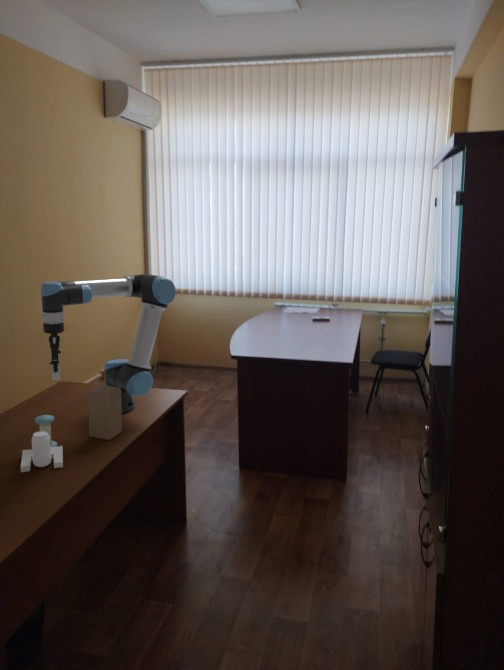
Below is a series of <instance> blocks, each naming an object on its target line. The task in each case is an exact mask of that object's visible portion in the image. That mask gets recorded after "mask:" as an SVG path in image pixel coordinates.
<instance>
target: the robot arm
mask: <svg viewBox="0 0 504 670" xmlns="http://www.w3.org/2000/svg"><path fill="white" fill-rule="evenodd" d="M40 286H41V287H40V296H41V308H42V313H41V314H40V317H42V322H43V323H42V327H43V332H44V334H50V335H49V336H48V342H49V349H50V351H51V361H50V362H49V365H51V377H52V381H60V380H61V374H60V373H61V363H60V354H61V353H62V352H61V350H60V342H61V339H60V338H61V337H60V335H59V334H62V333H64V332H65V323H64V321H65V320H64V319H65V317H64V306H65V307H66V306H74V305H75V306H76V305H84V304H88V303H90V302H91V301H92V299H93V298H106V297H118V296H119V297H120V296H123V297H125V298H138V299H141V302H140V303H141V305H142V307H143V308H142V311H141V314H140V319H139V323H138V327H137V330H136V334H135V339H134V342H133V347H132V351H131V354H130V357H129V359H127V358H121V359H120V358H119V359H112V360H108V361H105V363H104V368H103V372H104V375H103V376H104V385H107V386H113V387H120V388H121V408H122V414H124V413H128V412H131V411H133V410H134V409H135V408H136V402H135V400H134V397H133V396H135V397H142V396H144V395H146V394H147V393H149V391H150V390H151V389H152V387H153V384H154V378H153V376H152V373H151V371H152V366H151V364H150V361H151V358H152V354H153V350H154V345H155V342H156V337H157V334H158V330H159V326H160V322H161V318H162V315H163V312H164V311H165V310H167V308H168V305H169V304H171V303H172V302H173V301H174V299H175V297H176V294H177V293H176V290H177V289H176V286H175V283H174V282H173V280H172V279H170V278H168V277H166V276H162V275H154V274H150V273H142V274H135V275H134V274H133V275H124V276H123V277H121V278H109V279H108V278H106V279H105V278H104V279H92V280H91V279H89V280H88V279H87V280H72V281H67V280H66V281H60V280H54V281H45V282H43V283H42V284H41V285H40Z"/></svg>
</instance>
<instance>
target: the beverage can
mask: <svg viewBox="0 0 504 670" xmlns="http://www.w3.org/2000/svg"><path fill="white" fill-rule="evenodd" d="M30 441H31V449H32V454H33V461H32V464H33V465H34V466H35V467H37V468H44V467H47V466H48V465H50V464H51V463H52V459H51V446H50V436H49V435H48V432H46V431H40V430H38V431H35V432H34V433H33V434H32V437H31V440H30Z"/></svg>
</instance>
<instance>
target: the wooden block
mask: <svg viewBox="0 0 504 670" xmlns="http://www.w3.org/2000/svg"><path fill="white" fill-rule="evenodd" d="M87 391H88V392H87V410H88V432H89V437H90V438H95V439H99V440H100V439H101V440H105V441H110V440H112V439H114V438H115V437H117V436H118V435H120V434H121V433H122V432H123V419H122V418H123V416H122V414H123V413H122V408H121V388H120V387H113V386H107V385H105V384H100V385H98V386H96V387H94V388H92V389H90V390H87Z"/></svg>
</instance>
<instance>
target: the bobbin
mask: <svg viewBox="0 0 504 670" xmlns="http://www.w3.org/2000/svg"><path fill="white" fill-rule="evenodd" d="M53 422H55V416H54V415H51V414H43V415H39V416H36V417H35V418H34V423H36V424H37V425H38V426H39V431H46V432H48V435H49V436H50V446H51V447H57V446H58V442H57V441H55V440H52V428H51V425H52V423H53Z"/></svg>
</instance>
